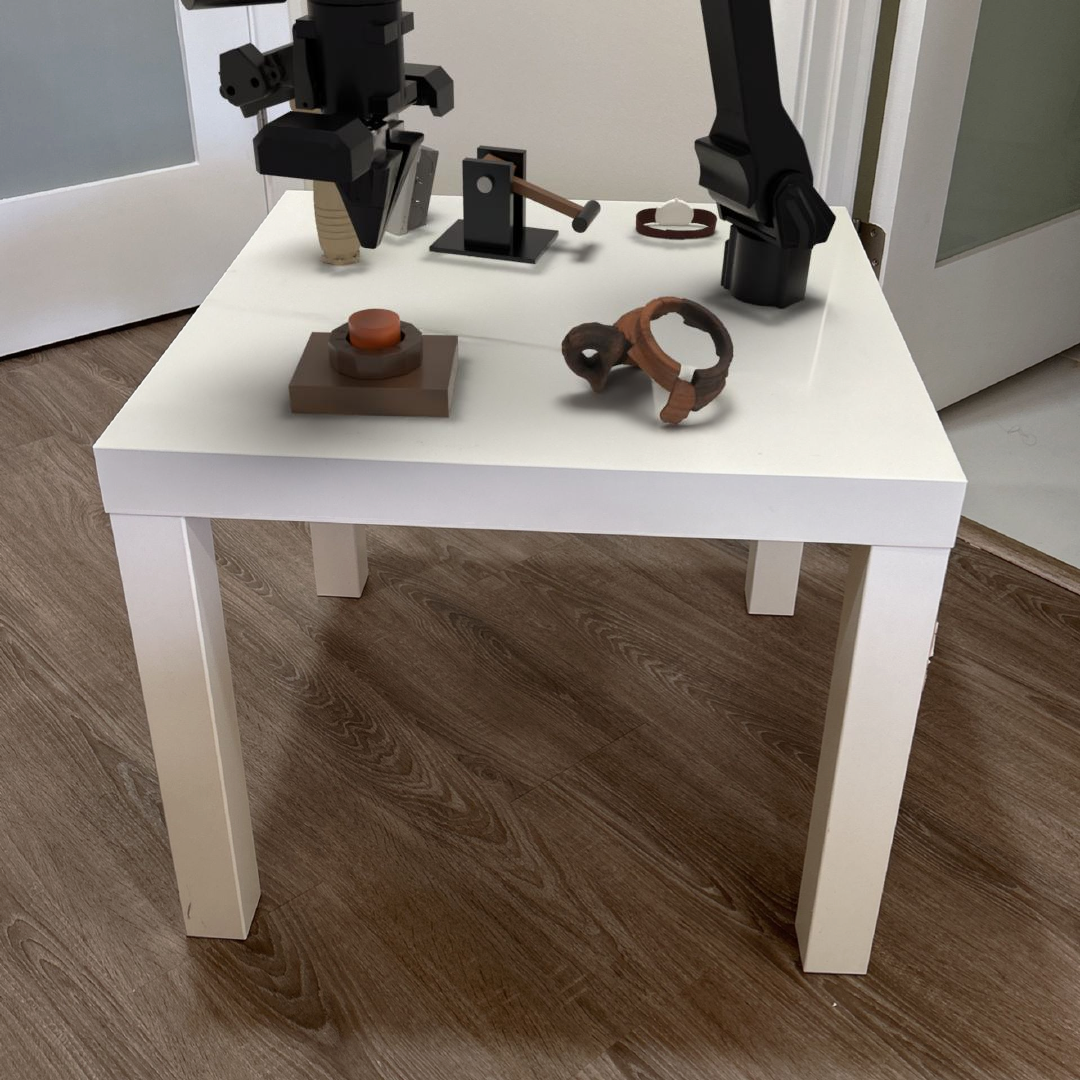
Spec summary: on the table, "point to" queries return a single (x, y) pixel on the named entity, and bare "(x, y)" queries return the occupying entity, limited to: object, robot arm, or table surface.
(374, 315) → the button
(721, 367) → the brown curved ring piece
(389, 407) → the button block
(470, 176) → the bracket
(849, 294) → the table surface
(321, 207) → the handle
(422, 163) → the electrical switch
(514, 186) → the lever
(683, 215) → the watch
